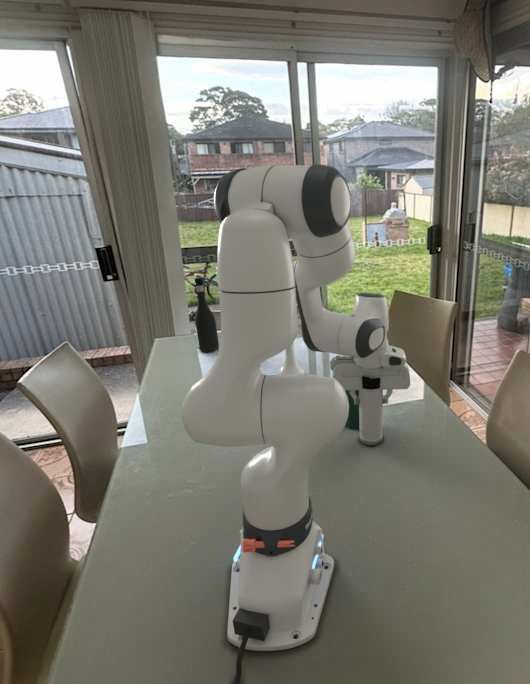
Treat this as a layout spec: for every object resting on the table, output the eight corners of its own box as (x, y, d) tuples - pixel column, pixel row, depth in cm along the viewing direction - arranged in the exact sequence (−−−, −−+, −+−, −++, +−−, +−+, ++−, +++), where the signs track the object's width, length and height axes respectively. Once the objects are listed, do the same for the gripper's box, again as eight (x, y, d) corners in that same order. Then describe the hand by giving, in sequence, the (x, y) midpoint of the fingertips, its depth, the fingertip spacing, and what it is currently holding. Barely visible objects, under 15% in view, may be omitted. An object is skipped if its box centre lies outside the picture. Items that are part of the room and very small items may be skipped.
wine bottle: (194, 351, 180) (183, 279, 169) (206, 344, 187) (196, 275, 176) (211, 353, 178) (200, 280, 167) (223, 346, 185) (213, 276, 174)
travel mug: (354, 442, 119) (353, 375, 112) (366, 430, 124) (365, 365, 117) (375, 448, 116) (375, 380, 109) (386, 436, 122) (387, 370, 114)
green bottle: (369, 428, 125) (368, 368, 119) (344, 429, 125) (342, 368, 118) (368, 415, 132) (367, 357, 125) (344, 416, 132) (343, 358, 125)
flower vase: (325, 381, 154) (322, 313, 145) (276, 395, 144) (269, 323, 135) (308, 368, 164) (304, 304, 155) (261, 381, 155) (254, 313, 146)
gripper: (329, 360, 108) (331, 409, 113) (412, 359, 108) (410, 408, 113) (330, 350, 114) (332, 398, 119) (409, 349, 114) (407, 396, 119)
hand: (371, 403), depth 116 cm, fingers closed on travel mug, 6 cm apart
